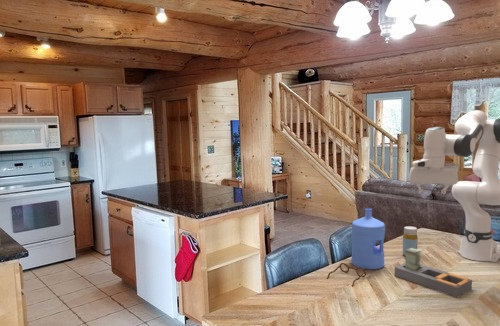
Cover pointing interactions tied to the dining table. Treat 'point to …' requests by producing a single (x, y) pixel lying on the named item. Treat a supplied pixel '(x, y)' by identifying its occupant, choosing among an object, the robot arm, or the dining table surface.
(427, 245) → the dining table surface
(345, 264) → the glasses
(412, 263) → the peg
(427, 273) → the board
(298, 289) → the dining table surface
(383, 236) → the water jug
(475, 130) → the robot arm
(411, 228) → the lidded canister
